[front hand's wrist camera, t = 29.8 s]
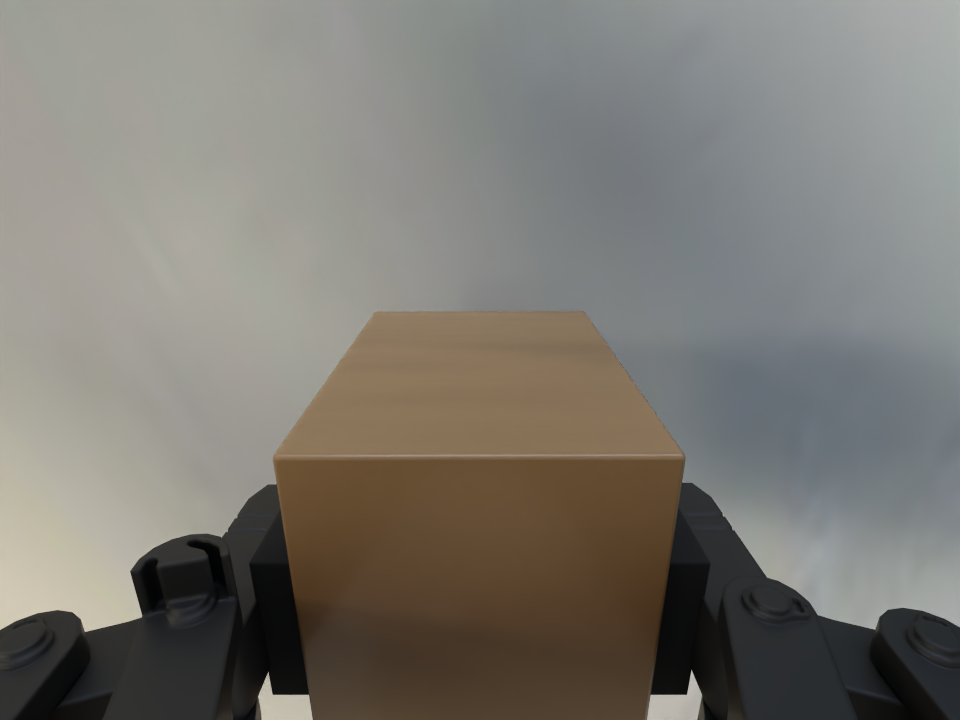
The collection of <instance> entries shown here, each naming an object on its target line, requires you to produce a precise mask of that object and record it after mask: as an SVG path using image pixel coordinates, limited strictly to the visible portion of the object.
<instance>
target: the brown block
mask: <svg viewBox="0 0 960 720" xmlns="http://www.w3.org/2000/svg"><path fill="white" fill-rule="evenodd" d="M273 462H274V468H275V475H276V481H277V488H278V494H279V501H280V507H281V514H282V520H283V527H284V534H285V540H286V547H287V553H288V560H289V566H290V573H291V579H292V586H293V592H294V599H295V605H296V612H297V618H298V625H299V632H300V638H301V645H302V651H303V658H304V664H305V671H306V677H307V684H308V690H309V697H310V703H311V710H312V717H313V720H647V715H648V708H649V701H650V694H651V688H652V681H653V674H654V667H655V661H656V654H657V647H658V640H659V633H660V627H661V620H662V613H663V606H664V600H665V593H666V586H667V579H668V572H669V566H670V559H671V552H672V545H673V539H674V532H675V525H676V518H677V512H678V505H679V498H680V491H681V484H682V478H683V471H684V464H685V455H684V453H683V452H682V450H681V449H680V447H679V446H678V444H677V443H676V442H675V440H674V439H673V437H672V436H671V434H670V433H669V432H668V430H667V429H666V427H665V426H664V424H663V423H662V422H661V420H660V419H659V417H658V416H657V414H656V413H655V412H654V410H653V409H652V407H651V406H650V404H649V403H648V402H647V400H646V399H645V397H644V396H643V394H642V393H641V392H640V390H639V389H638V387H637V386H636V385H635V383H634V382H633V380H632V379H631V377H630V376H629V375H628V373H627V372H626V370H625V369H624V367H623V366H622V365H621V363H620V362H619V360H618V359H617V357H616V356H615V355H614V353H613V352H612V350H611V349H610V347H609V346H608V345H607V343H606V342H605V340H604V339H603V337H602V336H601V335H600V333H599V332H598V330H597V329H596V327H595V326H594V325H593V323H592V322H591V320H590V319H589V317H588V316H587V315H586V313H585V312H583V311H558V312H375V313H374V314H373V316H372V317H371V318H370V320H369V321H368V323H367V324H366V325H365V327H364V328H363V330H362V331H361V332H360V334H359V335H358V337H357V338H356V340H355V341H354V342H353V344H352V345H351V347H350V348H349V349H348V351H347V352H346V354H345V355H344V357H343V358H342V359H341V361H340V362H339V364H338V365H337V366H336V368H335V369H334V371H333V372H332V374H331V375H330V376H329V378H328V379H327V381H326V382H325V383H324V385H323V386H322V388H321V389H320V390H319V392H318V393H317V395H316V396H315V398H314V399H313V400H312V402H311V403H310V405H309V406H308V407H307V409H306V410H305V412H304V413H303V415H302V416H301V417H300V419H299V420H298V422H297V423H296V424H295V426H294V427H293V429H292V430H291V432H290V433H289V434H288V436H287V437H286V439H285V440H284V441H283V443H282V444H281V446H280V447H279V448H278V450H277V451H276V453H275V454H274V457H273Z"/></svg>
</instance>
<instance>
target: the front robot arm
mask: <svg viewBox="0 0 960 720" xmlns="http://www.w3.org/2000/svg"><path fill="white" fill-rule="evenodd" d="M130 572H131V576H132V579H133V583H134V587H135V590H136V594H137V597H138V601H139V605H140V608H141V612H142V618H139V619H136V620H133V621H130V622H126V623H122V624H117V625H113V626H109V627H105V628H101V629H96V630H92V631H88V632H85V631H84V628H83V625H82V622H81V619H79V618H78V617H77V616H76V615H75V614H74V613H72V612H66V611H59V610H56V611H50V612H43V613H38V614H35V615H32V616H29V617H27V618H24V619H21V620H18V621H16V622H14V623H12V624H10V625H9V626H7V627H5V628H3V629H1V630H0V720H261V711H260V704H259V699H258V695H259V693H260V690H261V688H262V685H263V683H264V681H265V678H266V676H267V673H268V671H269V676H270V682H271V687H272V693H273V695H309V690H308V684H307V677H306V671H305V664H304V658H303V651H302V645H301V638H300V632H299V625H298V618H297V612H296V605H295V599H294V592H293V586H292V579H291V573H290V566H289V560H288V553H287V547H286V540H285V534H284V527H283V520H282V514H281V507H280V501H279V494H278V488H277V485H267V486H266V487H264V488H263V489H262V490H260V491H259V492H257V493H256V494H255V495H253V496H252V497H251V498H249V499H248V501H247V502H246V504H245V505H244V507H243V508H242V509H241V511H240V512H239V514H238V517H237V518H235V520H234V521H233V523H232V524H231V525H230V527H229V528H228V532H226V533H225V534H224V536H223V537H222V538H221V537H218V536H214V535H210V534H193V535H187V536H183V537H180V538H176V539H172V540H170V541H168V542H166V543H163V544H161V545H159V546H157V547H155V548H153V549H152V550H151V551H149V552H148V553H147V554H145V555H144V556H143V557H141V558H140V559H139V560H138V562H137V563H136V564H135V566H134V567H133V568H132V570H131V571H130ZM691 669H692V671H693V674H694V676H695V679H696V681H697V683H698V686H699V688H700V691H701V693H702V699H701V704H700V709H699V714H698V719H697V720H960V627H958V626H956V625H954V624H953V623H951V622H949V621H947V620H945V619H943V618H940V617H938V616H935V615H932V614H929V613H927V612H924V611H919V610H913V609H906V608H899V609H892V610H887V611H886V612H885V613H884V614H883V615H882V616H880V618H879V621H878V624H877V627H876V630H873V629H869V628H865V627H861V626H856V625H852V624H848V623H844V622H839V621H835V620H831V619H828V618H825V617H822V616H818V615H817V614H816V612H815V610H814V609H813V607H812V606H811V604H810V603H809V602H808V601H807V600H806V599H805V598H804V597H803V596H801V595H800V594H799V593H798V592H797V591H796V590H794V589H792V588H790V587H788V586H786V585H785V584H783V583H781V582H779V581H776V580H773V579H769V578H767V577H766V576H765V574H764V573H763V571H762V570H761V568H760V567H759V565H758V564H757V563H756V561H755V560H754V558H753V557H752V555H751V554H750V552H749V551H748V550H747V548H746V547H745V545H744V544H743V542H742V541H741V539H740V538H739V537H738V535H737V534H736V532H735V531H734V530H732V526H731V525H730V524H729V522H728V521H727V519H726V518H725V517H723V516H722V512H721V511H720V509H719V508H718V506H717V505H716V503H715V502H714V500H713V499H712V498H711V497H710V496H709V495H708V494H706V493H705V492H704V491H702V490H701V489H699V488H698V487H697V486H695V485H694V484H692V483H682V484H681V491H680V498H679V505H678V512H677V518H676V525H675V532H674V539H673V545H672V552H671V559H670V566H669V572H668V579H667V586H666V593H665V600H664V606H663V613H662V620H661V627H660V633H659V640H658V647H657V654H656V661H655V667H654V674H653V681H652V688H651V694H650V695H687V691H688V686H689V680H690V675H691Z"/></svg>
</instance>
